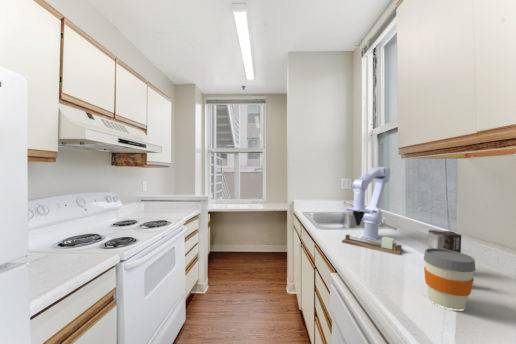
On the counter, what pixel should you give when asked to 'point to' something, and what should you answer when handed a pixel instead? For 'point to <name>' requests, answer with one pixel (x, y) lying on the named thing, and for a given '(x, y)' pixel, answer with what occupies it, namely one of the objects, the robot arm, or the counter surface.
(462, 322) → the counter surface
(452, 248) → the coffee box
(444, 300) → the reusable coffee cup
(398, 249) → the rod board
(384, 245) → the sleeve
